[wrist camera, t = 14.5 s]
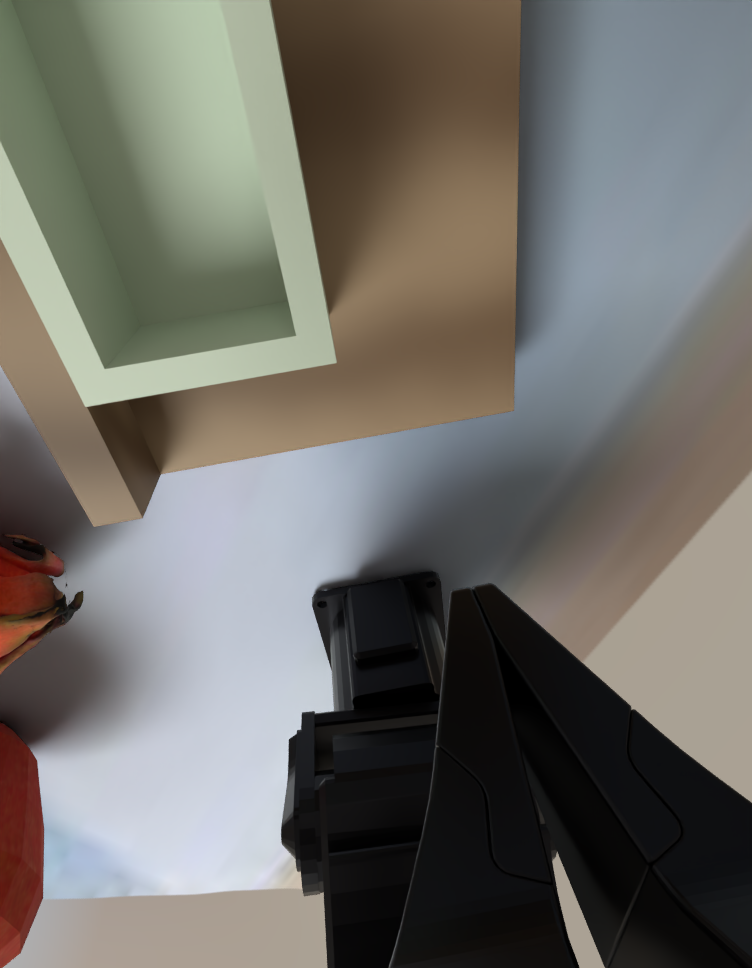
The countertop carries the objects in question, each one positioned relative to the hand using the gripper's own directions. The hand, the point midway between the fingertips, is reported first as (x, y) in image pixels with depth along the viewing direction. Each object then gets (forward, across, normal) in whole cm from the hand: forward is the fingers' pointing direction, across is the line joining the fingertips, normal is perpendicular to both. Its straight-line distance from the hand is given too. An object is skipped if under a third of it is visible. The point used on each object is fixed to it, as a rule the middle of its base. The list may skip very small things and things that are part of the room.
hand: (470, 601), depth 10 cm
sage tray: (+9, +5, -8) cm, 13 cm away
